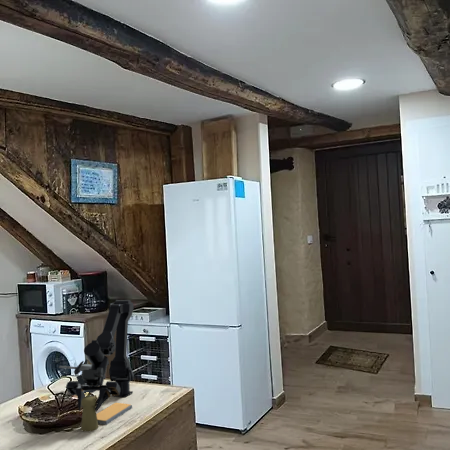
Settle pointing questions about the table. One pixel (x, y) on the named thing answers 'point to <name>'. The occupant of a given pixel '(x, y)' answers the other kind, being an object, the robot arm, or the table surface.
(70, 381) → the robot arm
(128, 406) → the floor panel
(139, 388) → the table surface
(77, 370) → the gun turret
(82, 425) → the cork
